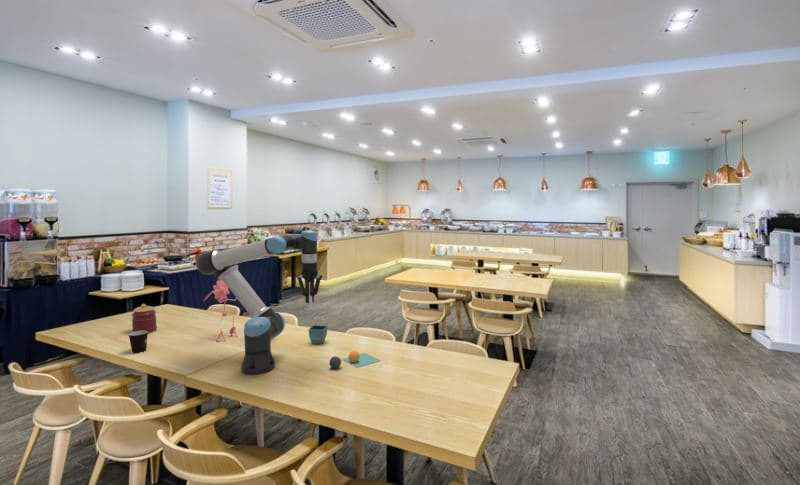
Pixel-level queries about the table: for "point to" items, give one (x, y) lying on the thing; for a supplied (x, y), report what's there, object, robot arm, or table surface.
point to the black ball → (335, 362)
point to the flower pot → (317, 334)
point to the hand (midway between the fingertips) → (309, 309)
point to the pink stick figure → (220, 293)
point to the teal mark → (362, 360)
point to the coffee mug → (138, 341)
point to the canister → (144, 319)
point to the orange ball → (354, 356)
